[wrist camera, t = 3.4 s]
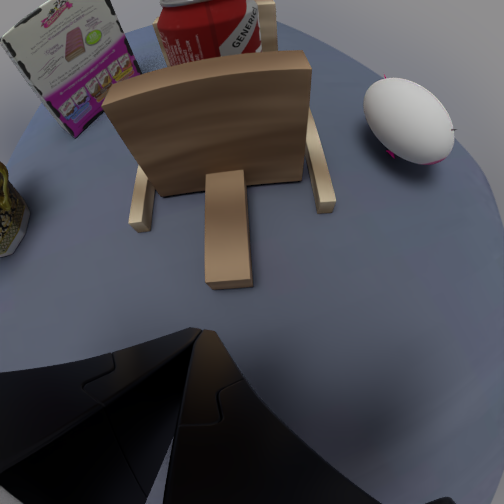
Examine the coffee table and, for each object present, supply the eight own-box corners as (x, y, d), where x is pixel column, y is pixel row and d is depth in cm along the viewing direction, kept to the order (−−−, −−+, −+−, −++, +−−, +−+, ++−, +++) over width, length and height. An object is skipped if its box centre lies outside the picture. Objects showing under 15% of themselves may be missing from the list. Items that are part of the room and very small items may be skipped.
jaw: (317, 280, 16) (360, 200, 7) (154, 293, 16) (58, 236, 8) (297, 158, 19) (302, 50, 10) (163, 174, 19) (112, 84, 11)
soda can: (216, 151, 20) (176, 10, 9) (178, 114, 22) (136, 5, 11) (282, 113, 21) (278, -16, 10) (236, 83, 23) (218, -23, 12)
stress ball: (450, 161, 18) (484, 111, 12) (407, 202, 17) (448, 144, 11) (391, 108, 21) (409, 54, 15) (337, 136, 20) (351, 70, 14)
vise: (331, 212, 17) (365, 108, 9) (138, 232, 18) (62, 155, 10) (290, 67, 24) (289, -5, 15) (167, 84, 25) (142, 18, 16)
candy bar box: (125, 74, 27) (83, -21, 12) (145, 78, 26) (101, -30, 11) (61, 130, 25) (-4, 40, 9) (74, 140, 23) (0, 36, 8)
